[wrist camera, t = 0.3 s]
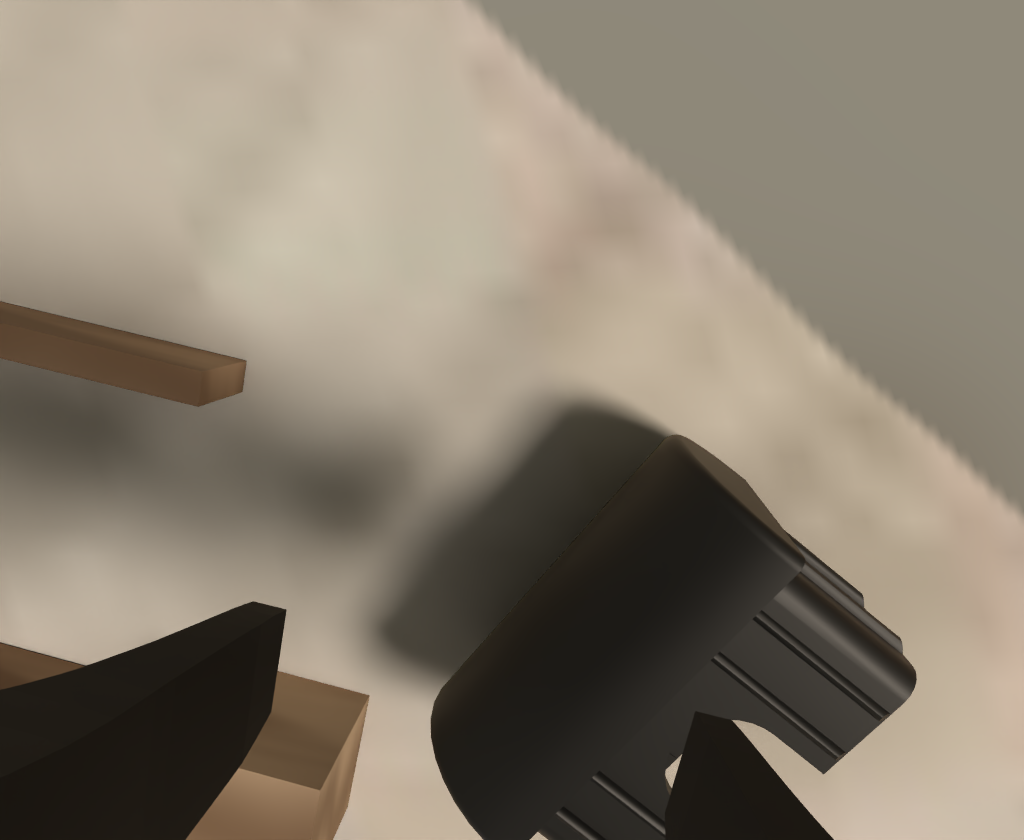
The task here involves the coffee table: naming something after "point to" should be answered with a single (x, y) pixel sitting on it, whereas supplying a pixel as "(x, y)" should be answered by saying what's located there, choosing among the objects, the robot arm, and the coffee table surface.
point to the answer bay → (114, 364)
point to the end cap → (658, 659)
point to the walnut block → (293, 768)
